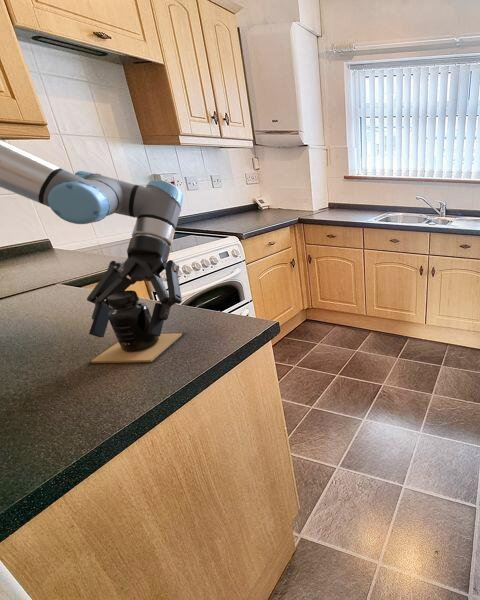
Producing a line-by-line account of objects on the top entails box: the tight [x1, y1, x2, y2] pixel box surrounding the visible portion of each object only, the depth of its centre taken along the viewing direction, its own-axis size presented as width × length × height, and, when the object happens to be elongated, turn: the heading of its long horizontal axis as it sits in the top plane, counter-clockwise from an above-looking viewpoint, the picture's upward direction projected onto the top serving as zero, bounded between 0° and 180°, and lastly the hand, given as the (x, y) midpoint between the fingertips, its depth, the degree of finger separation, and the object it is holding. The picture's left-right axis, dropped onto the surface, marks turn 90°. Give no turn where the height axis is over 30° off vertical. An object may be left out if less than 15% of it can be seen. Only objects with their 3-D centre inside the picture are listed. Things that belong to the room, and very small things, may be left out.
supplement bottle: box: [107, 289, 159, 352], centre depth 71 cm, size 7×7×12 cm
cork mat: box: [90, 332, 183, 364], centre depth 73 cm, size 12×11×1 cm
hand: (125, 335), depth 69 cm, fingers open, 11 cm apart
